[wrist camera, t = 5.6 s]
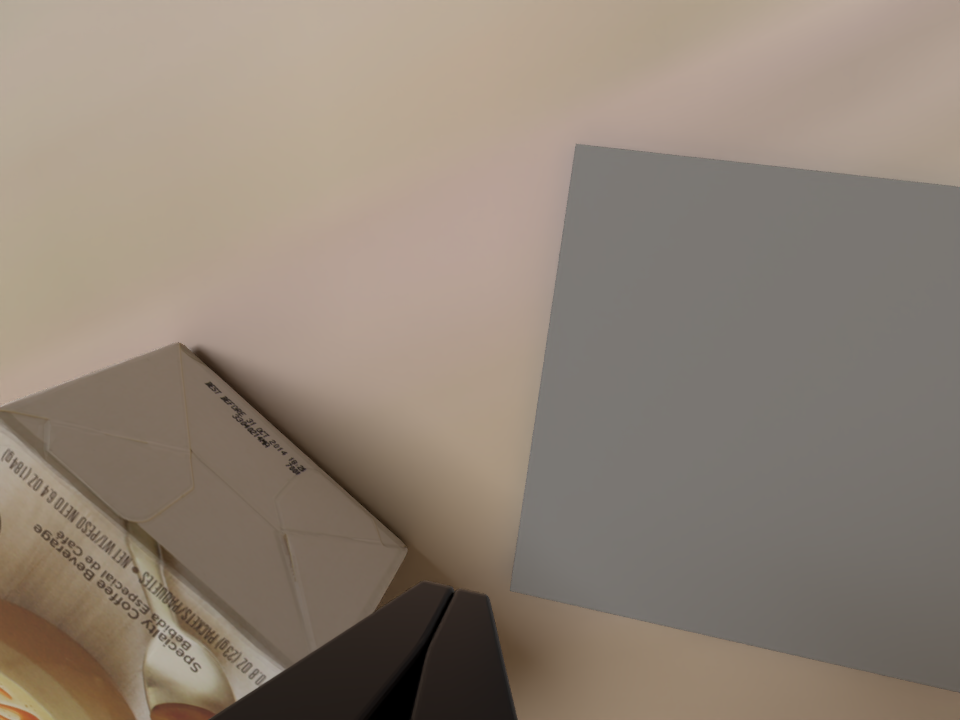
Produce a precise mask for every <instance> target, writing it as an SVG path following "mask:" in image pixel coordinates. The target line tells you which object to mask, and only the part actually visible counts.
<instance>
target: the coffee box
mask: <svg viewBox="0 0 960 720" xmlns="http://www.w3.org/2000/svg"><path fill="white" fill-rule="evenodd" d="M407 551H408V550H407V547H406V546H405V544H404V543H403V542H402V541H401V540H400V539H399V538H398V537H397V536H395V535H394V534H393V533H392V532H391V531H390V530H388V529H387V528H386V527H385V526H384V525H383V524H382V523H381V522H380V521H378V520H377V519H376V518H375V517H374V516H373V515H372V514H371V513H370V512H368V511H367V510H366V509H365V508H364V507H363V506H362V505H361V504H360V503H358V502H357V501H356V500H355V499H354V498H353V497H352V496H351V495H350V494H349V493H347V492H346V491H345V490H344V489H343V488H342V487H341V486H340V485H339V484H337V483H336V482H335V481H334V480H333V479H332V478H331V477H330V476H329V475H327V474H326V473H325V472H324V471H323V470H322V469H321V468H319V467H318V466H317V465H316V464H315V463H314V462H313V461H312V460H311V459H310V458H309V457H308V456H306V455H305V454H304V453H303V452H302V451H301V450H300V449H299V448H298V447H297V446H295V445H294V444H293V443H292V442H291V441H290V440H289V439H287V438H286V437H285V436H284V435H283V434H282V433H281V432H280V431H279V430H278V429H276V428H275V427H274V426H273V425H272V424H271V423H270V422H269V421H268V420H266V419H265V418H264V417H263V416H262V415H261V414H260V413H259V412H258V411H256V410H255V409H254V408H253V407H252V406H251V405H250V404H249V403H248V402H246V401H245V400H244V399H243V398H242V397H241V396H240V395H239V394H238V393H237V392H235V391H234V390H233V389H232V388H231V387H230V386H229V385H228V384H227V383H226V382H224V381H223V380H222V379H221V378H220V377H219V376H218V375H217V374H216V373H214V372H213V371H212V370H211V369H210V368H209V367H208V366H207V365H206V364H204V363H203V362H202V361H201V360H200V359H199V358H198V357H197V356H196V355H194V354H193V353H192V352H191V351H190V350H189V349H188V348H187V347H186V346H185V345H183V344H181V343H179V342H178V343H172V344H169V345H166V346H163V347H161V348H158V349H155V350H152V351H150V352H147V353H144V354H141V355H139V356H136V357H133V358H130V359H128V360H125V361H122V362H119V363H116V364H113V365H110V366H108V367H105V368H102V369H100V370H97V371H94V372H91V373H89V374H86V375H83V376H80V377H78V378H75V379H72V380H69V381H66V382H64V383H61V384H58V385H56V386H53V387H50V388H47V389H45V390H42V391H39V392H36V393H33V394H31V395H28V396H25V397H22V398H19V399H16V400H14V401H11V402H8V403H6V404H3V405H1V406H0V720H208V719H210V718H211V717H213V716H215V715H216V714H218V713H219V712H221V711H222V710H224V709H225V708H227V707H228V706H230V705H231V704H233V703H235V702H236V701H238V700H239V699H241V698H242V697H244V696H245V695H247V694H248V693H250V692H251V691H253V690H255V689H256V688H258V687H259V686H261V685H262V684H264V683H265V682H267V681H268V680H270V679H272V678H273V677H275V676H276V675H278V674H279V673H281V672H282V671H284V670H285V669H287V668H288V667H290V666H292V665H293V664H295V663H296V662H298V661H299V660H301V659H302V658H304V657H305V656H307V655H308V654H310V653H312V652H313V651H315V650H316V649H318V648H319V647H321V646H322V645H324V644H325V643H327V642H328V641H330V640H332V639H333V638H335V637H336V636H338V635H339V634H341V633H342V632H344V631H345V630H347V629H349V628H350V627H352V626H353V625H355V624H356V623H358V622H359V621H361V620H362V619H364V618H365V617H367V616H369V615H370V614H372V613H373V612H374V611H375V609H376V607H377V606H378V604H379V602H380V601H381V599H382V597H383V595H384V594H385V592H386V590H387V588H388V587H389V585H390V583H391V581H392V580H393V578H394V576H395V574H396V573H397V571H398V569H399V567H400V565H401V564H402V562H403V560H404V558H405V556H406V554H407Z"/></svg>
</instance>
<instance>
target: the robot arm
mask: <svg viewBox="0 0 960 720" xmlns="http://www.w3.org/2000/svg"><path fill="white" fill-rule="evenodd" d="M208 720H518V719H517V715H516V710H515V706H514V702H513V698H512V693H511V689H510V685H509V680H508V676H507V672H506V668H505V663H504V659H503V655H502V650H501V646H500V642H499V637H498V633H497V629H496V625H495V620H494V616H493V612H492V607H491V603H490V599H489V597H488V596H487V595H486V594H483V593H479V592H475V591H470V590H466V589H457V590H456V591H454V589H453V587H451V586H448V585H444V584H440V583H435V582H431V581H421V582H419V583H418V584H416V585H415V586H413V587H412V588H410V589H409V590H407V591H406V592H404V593H402V594H401V595H399V596H398V597H396V598H395V599H393V600H392V601H390V602H389V603H387V604H385V605H384V606H382V607H381V608H379V609H378V610H376V611H375V612H373V613H372V614H370V615H369V616H367V617H365V618H364V619H362V620H361V621H359V622H358V623H356V624H355V625H353V626H352V627H350V628H349V629H347V630H345V631H344V632H342V633H341V634H339V635H338V636H336V637H335V638H333V639H332V640H330V641H328V642H327V643H325V644H324V645H322V646H321V647H319V648H318V649H316V650H315V651H313V652H312V653H310V654H308V655H307V656H305V657H304V658H302V659H301V660H299V661H298V662H296V663H295V664H293V665H292V666H290V667H288V668H287V669H285V670H284V671H282V672H281V673H279V674H278V675H276V676H275V677H273V678H272V679H270V680H268V681H267V682H265V683H264V684H262V685H261V686H259V687H258V688H256V689H255V690H253V691H251V692H250V693H248V694H247V695H245V696H244V697H242V698H241V699H239V700H238V701H236V702H235V703H233V704H231V705H230V706H228V707H227V708H225V709H224V710H222V711H221V712H219V713H218V714H216V715H215V716H213V717H211V718H210V719H208Z"/></svg>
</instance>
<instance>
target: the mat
mask: <svg viewBox="0 0 960 720" xmlns="http://www.w3.org/2000/svg"><path fill="white" fill-rule="evenodd" d="M510 591H513V592H517V593H521V594H526V595H530V596H535V597H539V598H544V599H548V600H552V601H557V602H561V603H566V604H570V605H574V606H579V607H583V608H588V609H592V610H597V611H601V612H605V613H610V614H614V615H619V616H623V617H628V618H632V619H636V620H641V621H645V622H650V623H654V624H658V625H663V626H667V627H672V628H676V629H681V630H685V631H689V632H694V633H698V634H703V635H707V636H712V637H716V638H720V639H725V640H729V641H734V642H738V643H742V644H747V645H751V646H756V647H760V648H765V649H769V650H773V651H778V652H782V653H787V654H791V655H796V656H800V657H804V658H809V659H813V660H818V661H822V662H826V663H831V664H835V665H840V666H844V667H849V668H853V669H857V670H862V671H866V672H871V673H875V674H880V675H884V676H888V677H893V678H897V679H902V680H906V681H911V682H915V683H919V684H924V685H928V686H933V687H937V688H941V689H946V690H950V691H955V692H959V693H960V187H956V186H947V185H938V184H929V183H920V182H911V181H902V180H893V179H884V178H875V177H866V176H857V175H849V174H840V173H831V172H822V171H813V170H804V169H795V168H786V167H777V166H768V165H759V164H750V163H741V162H732V161H723V160H714V159H706V158H697V157H688V156H679V155H670V154H661V153H652V152H643V151H634V150H625V149H616V148H607V147H598V146H589V145H580V144H576V147H575V154H574V160H573V167H572V174H571V181H570V187H569V194H568V201H567V208H566V214H565V221H564V228H563V235H562V242H561V248H560V255H559V262H558V269H557V275H556V282H555V289H554V296H553V302H552V309H551V316H550V323H549V329H548V336H547V343H546V350H545V357H544V363H543V370H542V377H541V384H540V390H539V397H538V404H537V411H536V417H535V424H534V431H533V438H532V444H531V451H530V458H529V465H528V472H527V478H526V485H525V492H524V499H523V505H522V512H521V519H520V526H519V532H518V539H517V546H516V553H515V560H514V566H513V573H512V580H511V587H510Z"/></svg>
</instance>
